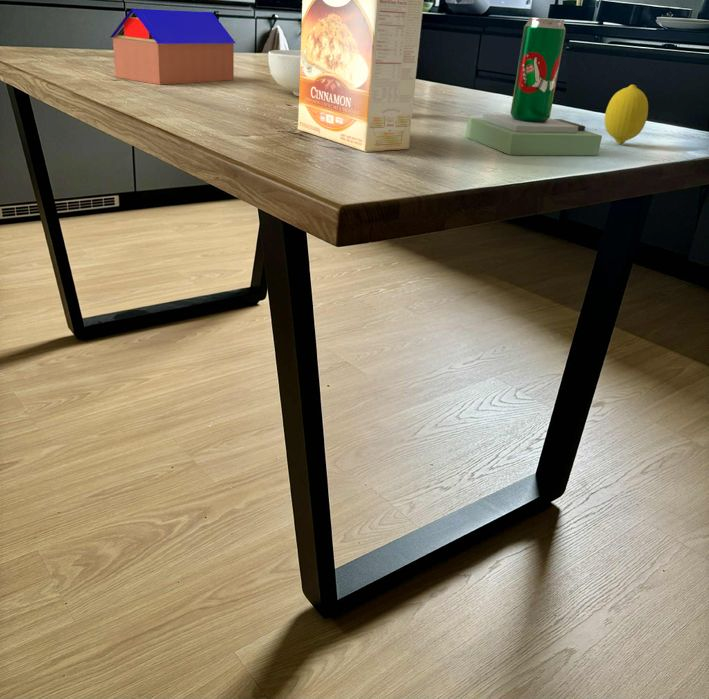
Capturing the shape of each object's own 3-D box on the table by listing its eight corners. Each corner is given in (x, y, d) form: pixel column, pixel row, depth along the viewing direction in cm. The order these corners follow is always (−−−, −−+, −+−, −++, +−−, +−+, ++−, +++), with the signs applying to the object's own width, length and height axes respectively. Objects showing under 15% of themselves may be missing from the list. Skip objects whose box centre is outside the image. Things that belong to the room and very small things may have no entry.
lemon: (627, 141, 104) (640, 83, 101) (647, 148, 99) (662, 88, 96) (592, 139, 103) (604, 81, 100) (611, 147, 98) (624, 85, 95)
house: (112, 77, 131) (107, 6, 125) (191, 73, 146) (189, 9, 141) (159, 84, 125) (156, 11, 120) (236, 79, 140) (235, 14, 135)
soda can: (534, 116, 96) (551, 18, 91) (556, 123, 92) (575, 20, 87) (502, 116, 94) (517, 16, 89) (523, 122, 90) (540, 18, 85)
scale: (547, 138, 102) (551, 113, 100) (598, 155, 92) (603, 129, 90) (465, 136, 98) (468, 111, 96) (509, 155, 88) (513, 127, 86)
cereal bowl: (334, 89, 137) (336, 50, 134) (381, 102, 124) (385, 59, 121) (252, 89, 129) (252, 46, 125) (294, 103, 116) (295, 56, 113)
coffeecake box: (295, 130, 93) (301, -41, 85) (340, 128, 97) (350, -35, 88) (363, 152, 82) (378, -40, 74) (410, 149, 86) (429, -33, 78)
